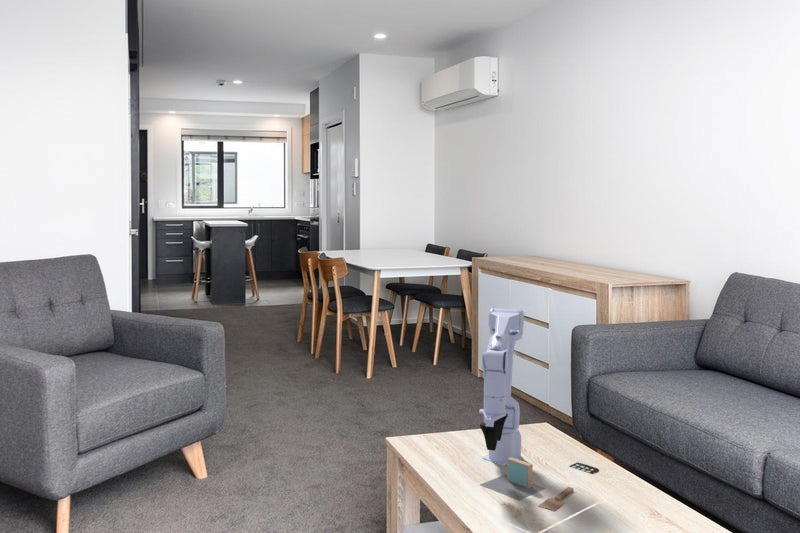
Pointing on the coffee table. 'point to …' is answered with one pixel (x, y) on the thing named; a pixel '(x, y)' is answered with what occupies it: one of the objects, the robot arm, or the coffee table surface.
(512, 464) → the tile
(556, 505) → the walnut turner
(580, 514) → the coffee table surface
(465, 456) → the coffee table surface
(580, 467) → the smartphone
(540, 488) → the mat
